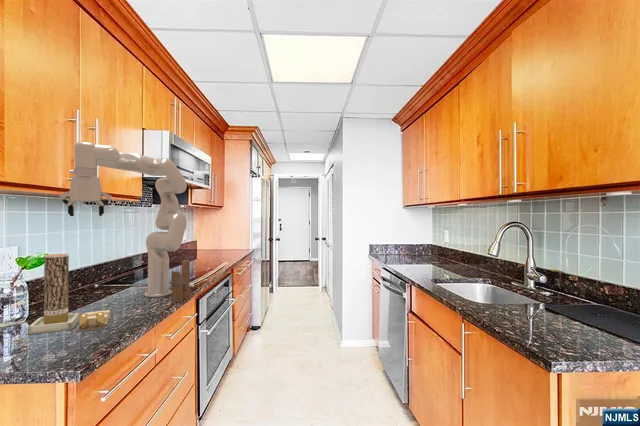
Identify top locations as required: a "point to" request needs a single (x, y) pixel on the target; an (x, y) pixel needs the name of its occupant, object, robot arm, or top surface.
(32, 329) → the tray
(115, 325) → the top surface
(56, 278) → the paper tube
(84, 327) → the bench dogs
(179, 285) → the wooden block
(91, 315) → the beige stepped block
